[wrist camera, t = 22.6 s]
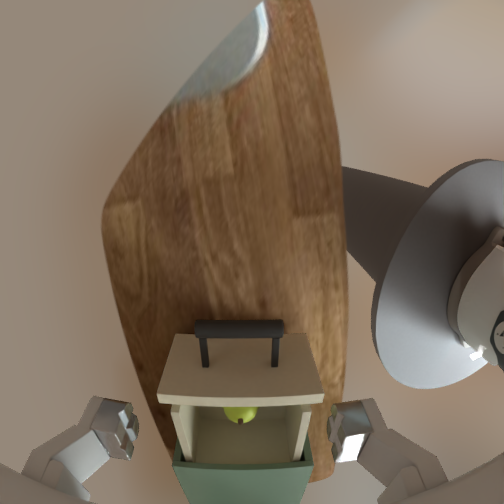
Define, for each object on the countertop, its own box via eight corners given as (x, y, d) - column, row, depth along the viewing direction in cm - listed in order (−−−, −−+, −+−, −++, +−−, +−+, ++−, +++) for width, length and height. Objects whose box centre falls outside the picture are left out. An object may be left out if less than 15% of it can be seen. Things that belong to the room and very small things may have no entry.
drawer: (169, 292, 28) (144, 348, 19) (310, 291, 28) (334, 347, 20) (190, 415, 34) (182, 470, 26) (294, 414, 34) (304, 469, 26)
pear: (264, 357, 29) (269, 407, 23) (263, 390, 31) (267, 438, 25) (215, 358, 29) (210, 407, 23) (219, 391, 31) (215, 438, 24)
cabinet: (184, 398, 34) (171, 466, 24) (300, 397, 34) (314, 465, 24) (198, 454, 39) (192, 509, 29) (290, 454, 39) (297, 508, 29)
